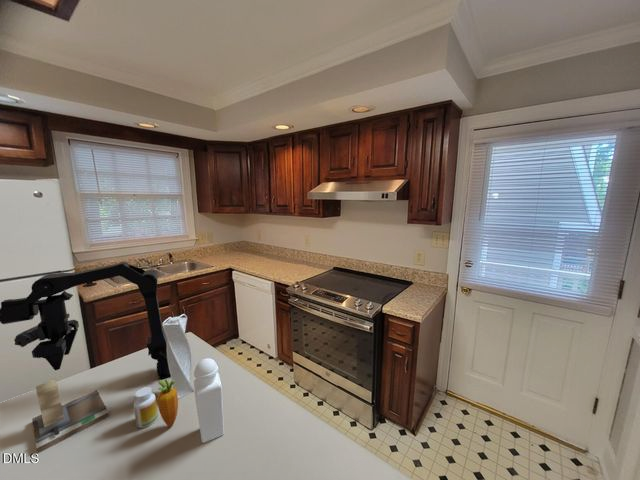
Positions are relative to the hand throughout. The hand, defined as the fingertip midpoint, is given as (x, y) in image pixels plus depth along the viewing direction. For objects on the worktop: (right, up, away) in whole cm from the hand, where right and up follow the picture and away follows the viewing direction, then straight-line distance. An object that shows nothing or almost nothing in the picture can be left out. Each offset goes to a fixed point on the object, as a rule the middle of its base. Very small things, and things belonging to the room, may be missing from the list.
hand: (62, 361), depth 84 cm
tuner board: (+7, -15, -5) cm, 18 cm away
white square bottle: (+51, -16, -9) cm, 54 cm away
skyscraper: (+35, -13, +6) cm, 38 cm away
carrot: (+39, -15, -8) cm, 42 cm away
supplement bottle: (+31, -15, -5) cm, 35 cm away
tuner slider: (+6, -14, -8) cm, 18 cm away
